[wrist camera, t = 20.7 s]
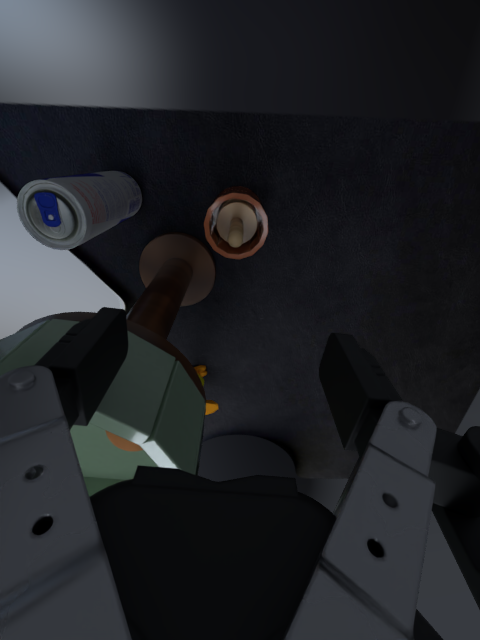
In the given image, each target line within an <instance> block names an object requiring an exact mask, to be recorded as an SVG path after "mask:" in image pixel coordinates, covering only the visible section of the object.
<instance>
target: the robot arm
mask: <svg viewBox="0 0 480 640" xmlns="http://www.w3.org/2000/svg"><path fill="white" fill-rule="evenodd" d="M127 353H128V332H127V320H126V312H125V310H123V309H115V308H106V307H103V308H101V309H100V310H99V311H98V313H97V314H96V315H95V316H94V317H93V318H92V319H85V320H83V321H81V322H79V323H77V324H75V325H73V326H72V327H71V328H70V329H69V330H68V331H67V332H66V335H63V337H62V338H61V339H60V340H59V342H57V343H56V344H55V345H54V346H53V347H52V348H51V349H50V350H49V351H48V352H47V353H46V354H45V355H44V356H43V357H42V358H41V359H40V360H39V361H38V362H37V363H36V364H35V365H34V366H24V367H20V368H16V369H14V370H11V371H9V372H7V373H5V374H3V375H1V376H0V640H443V639H442V638H441V636H440V635H439V634H438V633H437V632H436V631H435V630H434V628H433V627H432V626H431V625H430V624H429V623H428V621H427V620H426V619H425V618H424V617H423V616H422V615H421V613H420V612H419V611H418V610H417V609H416V605H417V599H418V593H419V587H420V581H421V574H422V567H423V561H424V555H425V549H426V543H427V536H428V530H429V524H430V517H431V511H433V514H434V516H435V518H436V520H437V522H438V524H439V526H440V528H441V530H442V532H443V535H444V537H445V539H446V541H447V543H448V545H449V547H450V549H451V551H452V553H453V555H454V557H455V559H456V562H457V564H458V566H459V568H460V570H461V572H462V574H463V576H464V578H465V580H466V582H467V584H468V587H469V589H470V591H471V593H472V595H473V597H474V599H475V601H476V603H477V605H478V607H479V609H480V427H479V426H474V427H471V428H469V429H468V430H467V432H466V433H465V434H464V436H460V435H457V434H454V433H451V432H448V431H445V430H442V429H439V428H436V425H435V423H434V422H433V420H432V419H431V418H430V417H429V416H428V415H427V414H426V413H425V412H424V411H422V410H421V409H419V408H418V407H416V406H414V405H412V404H409V403H407V402H403V400H402V399H401V397H400V396H399V394H398V393H397V391H396V390H395V388H394V387H393V385H392V384H391V382H390V381H389V379H388V377H387V376H385V373H384V371H383V370H382V368H380V365H379V364H378V362H377V361H376V359H375V358H374V357H373V356H372V355H371V354H370V353H369V352H367V351H366V350H365V349H363V348H360V347H359V345H358V344H357V342H356V340H355V339H354V337H353V336H352V335H348V334H339V333H331V334H330V336H329V338H328V341H327V344H326V347H325V351H324V354H323V357H322V360H321V363H320V367H319V377H320V381H321V384H322V387H323V390H324V393H325V395H326V398H327V401H328V404H329V407H330V410H331V413H332V416H333V419H334V422H335V424H336V427H337V430H338V433H339V436H340V439H341V442H342V445H343V448H344V450H354V451H358V454H359V458H358V460H357V462H356V464H355V466H354V469H353V471H352V473H351V475H350V477H349V480H348V482H347V484H346V486H345V488H344V490H343V493H342V495H341V497H340V499H339V501H338V504H337V505H336V508H335V510H334V512H333V513H332V512H330V511H329V510H328V509H327V508H326V507H324V506H323V505H322V504H320V503H319V502H317V501H316V500H314V499H313V498H311V497H309V496H307V495H304V494H302V493H300V492H297V486H296V479H295V478H288V477H275V476H263V475H255V476H249V477H244V478H239V479H233V480H228V481H222V482H215V481H211V480H209V479H206V478H203V477H200V476H197V475H194V474H191V473H189V472H186V471H183V470H180V469H177V468H164V467H152V466H140V465H138V466H137V469H136V472H135V475H134V478H133V479H129V480H125V481H121V482H118V483H115V484H113V485H110V486H108V487H106V488H104V489H102V490H100V491H98V492H96V493H95V494H93V495H92V496H90V497H89V494H88V491H87V488H86V484H85V481H84V477H83V474H82V471H81V467H80V464H79V460H78V457H77V453H76V450H75V447H74V443H73V440H72V436H71V433H70V430H71V428H72V426H73V425H78V426H87V425H88V424H89V422H90V420H91V418H92V417H93V415H94V413H95V411H96V410H97V408H98V406H99V404H100V403H101V401H102V399H103V397H104V396H105V394H106V392H107V390H108V389H109V387H110V385H111V383H112V382H113V380H114V378H115V376H116V375H117V373H118V371H119V369H120V368H121V366H122V364H123V362H124V361H125V359H126V356H127Z"/></svg>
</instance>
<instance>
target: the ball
mask: <svg viewBox="0 0 480 640" xmlns="http://www.w3.org/2000/svg"><path fill="white" fill-rule="evenodd" d="M105 431H106V430H105ZM106 434H107V437H108V438H109V440H110V441H111V442H112V443H113V444H114V445H115V446H116V447H118V448H120V449H122V450H125V451H141V450H143V449H142V448H141V447H140V446H139V445H137V444H135V443H133V442H131V441H128V440H126V439H124V438H122V437H119V436H117V435H115V434H113V433H110V432H108V431H106Z"/></svg>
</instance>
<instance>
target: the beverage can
mask: <svg viewBox="0 0 480 640" xmlns="http://www.w3.org/2000/svg"><path fill="white" fill-rule="evenodd" d="M141 203H142V194H141V190H140V188H139V186H138V184H137V183H136V181H135V180H134V179H133V178H132V177H131V176H129V175H128V174H126V173H124V172H121V171H106V172H97V173H89V174H80V175H72V176H63V177H55V178H46V179H41V180H35V181H32V182H29V183H28V184H26V185H25V186H24V187H23V188H22V189H21V191H20V193H19V195H18V199H17V210H18V214H19V217H20V220H21V222H22V224H23V226H24V227H25V229H26V230H27V231H28V232H29V233H30V235H31V236H32V237H33V238H35V239H36V240H37V241H39V242H40V243H42V244H43V245H45V246H48V247H50V248H53V249H59V250H67V249H72V248H74V247H76V246H78V245H81V244H82V243H84V242H86V241H88V240H90V239H91V238H93V237H95V236H97V235H99V234H101V233H102V232H104V231H106V230H108V229H110V228H111V227H113V226H115V225H117V224H119V223H121V222H122V221H124V220H126V219H128V218H130V217H131V216H133V215H134V214H136V213H137V212H138V210H139V209H140V207H141Z"/></svg>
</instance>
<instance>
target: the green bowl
mask: <svg viewBox="0 0 480 640" xmlns="http://www.w3.org/2000/svg"><path fill="white" fill-rule="evenodd" d="M79 322H80V321H70V320H61V319H52V320H51V321H50V320H49V319H48V320H45V321H43V322H41V323H38V324H36V325H34V326H31V327H29V328H27V329H24V330H22V331H20V332H17V333H15V334H13V335H10V336H8V337H6V338H3V339H1V340H0V376H1V375H3V374H5V373H7V372H9V371H11V370H14V369H16V368H20V367H24V366H34V365H35V364H36V363H37V362H38V361H39V360H40V359H41V358H42V357H43V356H44V355H45V354H46V353H47V352H48V351H49V350H50V349H51V348H52V347H53V346H54V345H55V344H56V343H57V342H59V340H60V339H61V338H62V337H63V335H66V332H67V331H68V330H69V329H70V328H71V327H72V326H73V325H75V324H77V323H79ZM127 332H128V353H127V356H126V359H125V361H124V362H123V364H122V366H121V368H120V369H119V371H118V373H117V375H116V376H115V378H114V380H113V382H112V383H111V385H110V387H109V389H108V390H107V392H106V394H105V396H104V397H103V399H102V401H101V403H100V404H99V406H98V408H97V410H96V411H95V413H94V415H93V417H92V418H91V420H90V422H89V424H88V425H87V426H78V425H73V426H72V428H71V430H70V433H71V436H72V440H73V443H74V447H75V450H76V453H77V457H78V460H79V464H80V467H81V471H82V474H83V477H84V481H85V484H86V488H87V491H88V494H89V497H90V496H92V495H93V494H95V493H96V492H98V491H100V490H102V489H104V488H106V487H108V486H110V485H113V484H115V483H118V482H121V481H125V480H129V479H133V478H134V475H135V472H136V469H137V466H138V465H140V466H152V467H164V468H177V469H180V470H183V471H186V472H189V473H191V474H194V475H197V476H198V469H199V462H200V455H201V448H202V441H203V431H204V419H205V408H206V403H205V399H204V398H203V396H202V395H201V393H200V392H199V390H198V389H197V387H196V386H195V384H194V383H193V381H192V380H191V378H190V377H189V375H188V374H187V372H186V371H185V369H184V368H183V366H182V365H181V363H180V361H175V360H176V358H175V357H174V356H172V355H170V354H168V353H167V352H165V351H163V350H161V349H160V348H158V347H156V346H154V345H152V344H151V343H149V342H147V341H145V340H144V339H142V338H140V337H138V336H137V335H135V334H133V333H131V332H129V331H128V330H127ZM105 430H106V431H108V432H110V433H113V434H115V435H117V436H119V437H122V438H124V439H126V440H128V441H131V442H133V443H135V444H137V445H139V446H140V447H141V448H142V449H143V450H141V451H125V450H122V449H120V448H118V447H116V446H115V445H114V444H113V443H112V442H111V441H110V440H109V438H108V437H107V434H106V431H105Z"/></svg>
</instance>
